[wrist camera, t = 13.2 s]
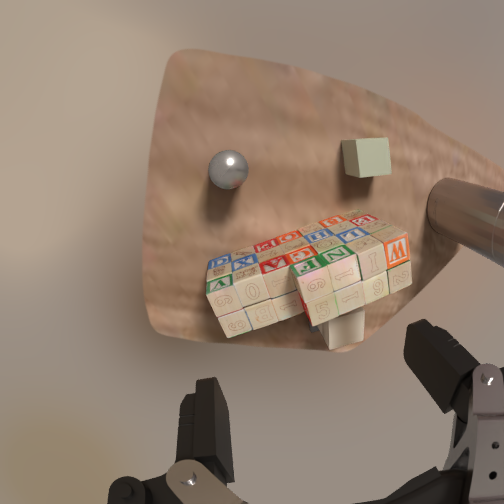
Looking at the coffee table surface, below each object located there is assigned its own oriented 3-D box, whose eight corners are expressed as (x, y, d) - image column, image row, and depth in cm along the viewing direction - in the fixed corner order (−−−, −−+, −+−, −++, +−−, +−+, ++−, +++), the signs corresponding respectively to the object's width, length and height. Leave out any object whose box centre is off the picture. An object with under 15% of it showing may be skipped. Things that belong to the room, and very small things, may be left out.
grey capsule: (241, 147, 33) (244, 146, 28) (247, 179, 35) (251, 185, 29) (208, 154, 33) (205, 154, 28) (214, 186, 34) (212, 192, 29)
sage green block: (370, 137, 34) (387, 137, 30) (374, 170, 36) (391, 174, 31) (340, 140, 34) (355, 139, 30) (345, 174, 36) (360, 177, 31)
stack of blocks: (224, 299, 40) (226, 356, 28) (207, 259, 38) (202, 308, 26) (366, 248, 39) (414, 285, 28) (358, 207, 37) (409, 232, 26)
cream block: (347, 289, 40) (364, 310, 35) (347, 317, 42) (363, 340, 36) (315, 297, 40) (328, 319, 34) (317, 325, 42) (329, 349, 36)
